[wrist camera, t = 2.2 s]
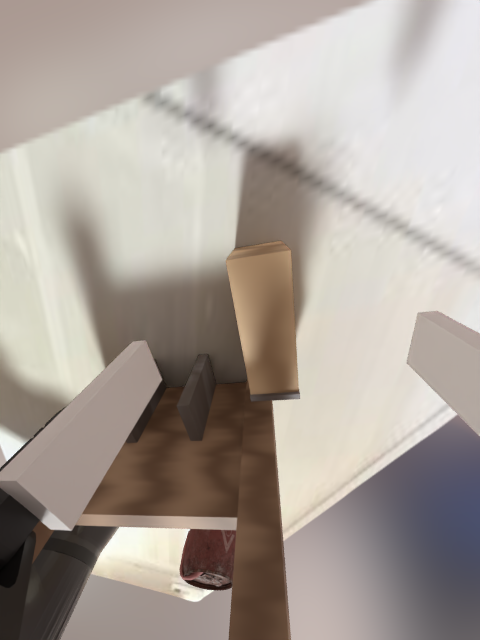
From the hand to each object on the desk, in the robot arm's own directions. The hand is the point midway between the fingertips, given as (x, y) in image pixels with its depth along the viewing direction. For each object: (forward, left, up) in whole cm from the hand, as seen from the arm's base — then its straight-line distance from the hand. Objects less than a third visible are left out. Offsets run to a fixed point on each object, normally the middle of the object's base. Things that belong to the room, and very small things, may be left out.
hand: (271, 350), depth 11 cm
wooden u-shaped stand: (-12, -12, -12) cm, 21 cm away
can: (-10, -28, -13) cm, 32 cm away
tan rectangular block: (0, -3, -12) cm, 13 cm away
